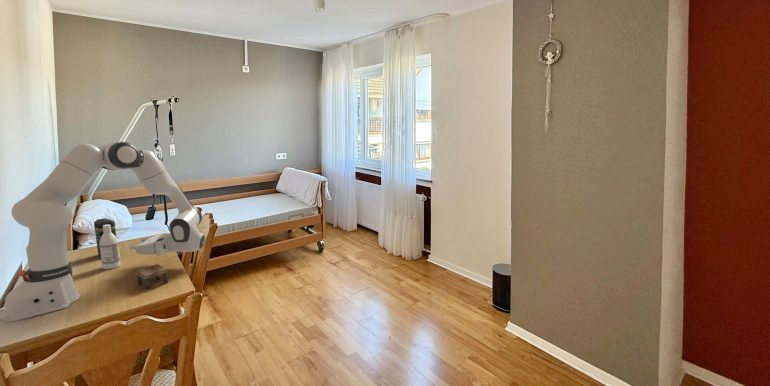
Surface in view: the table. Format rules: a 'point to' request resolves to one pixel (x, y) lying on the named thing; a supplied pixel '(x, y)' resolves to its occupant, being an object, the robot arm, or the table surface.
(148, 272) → the brown miniature table
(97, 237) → the coffee jar
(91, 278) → the table surface
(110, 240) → the bath foam
